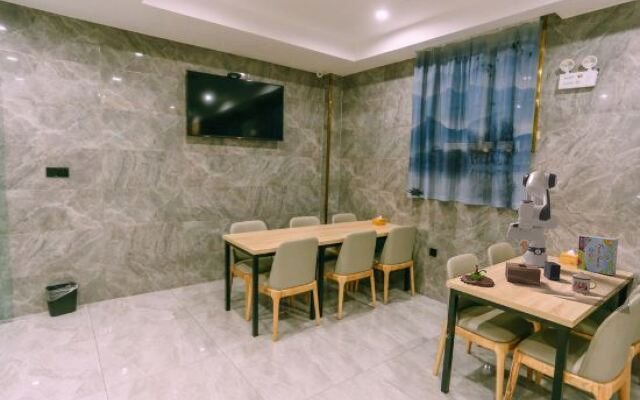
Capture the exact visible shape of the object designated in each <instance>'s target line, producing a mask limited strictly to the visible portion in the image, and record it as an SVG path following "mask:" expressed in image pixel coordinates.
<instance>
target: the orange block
mask: <svg viewBox="0 0 640 400" xmlns="http://www.w3.org/2000/svg"><path fill="white" fill-rule="evenodd" d="M520 243H522V246H520V249H521V250H526V251H527V244H528V240H521V241H520Z"/></svg>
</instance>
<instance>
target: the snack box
mask: <svg viewBox="0 0 640 400" xmlns="http://www.w3.org/2000/svg"><path fill="white" fill-rule="evenodd" d="M618 246H619V239H618V238H612V237H606V236H605V237H602V236H594V235H585V234H584V235H583V234H581V235H579V236H578V247H577V248H578V249H577V251H578V253H577V264H576V265H577V266H576V269H578V270H582V271H586V272H591V273H597V274H602V275H607V276H614V275H616V272H617V259H618Z"/></svg>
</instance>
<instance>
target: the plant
mask: <svg viewBox="0 0 640 400" xmlns="http://www.w3.org/2000/svg"><path fill="white" fill-rule="evenodd" d="M478 267H479V265H478V264H475V268H476V269H475V270H474V271H473V272H471V271H469V274H463V275H461V277H460V278H459V280H460V279H461V280H460V281H461V282H464V283H463V284H465V283H467V284H466V285H469V284H472V285H471V286H477V285H478V286H477V287H483V288H492V287H494V286H495V281H494V280H493V279H492V278H491V277H488V276H487V275H486V274H487V273H488V272H487V270H485V269H481V270H478V269H479V268H478ZM482 272H484V273H485V274H483V273H482Z"/></svg>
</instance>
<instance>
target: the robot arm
mask: <svg viewBox="0 0 640 400" xmlns="http://www.w3.org/2000/svg"><path fill="white" fill-rule="evenodd" d="M521 183H522V186H524V187H525V191H526V192H527V193H528V194H529V195H530V196H531V197H530V199H531V200H530V199H522V200H520V202H519V205H518V208H517V216H518V218H517V221H515V222H511V223H509V227H508V228H507V234H506V237H507V238H508V239H512V240H513V239H514V240H515V239H516V240H517V242H518V245H519V247H521V246H522V243H521V241H522V240H523V241H527V250H526V252H525V253H523V254H522V255H523V256H522V257H523V258H522V260H521V264H530V265H537V266H538V267H541V268H544V262H545V261H548V262H549V260H548V259H549V258H548V257H549V256H548V254H547V253H546V250H547V248H546V241H547V239H546V236H545V234H544V231H545V230H554V229H556V228H558V227H559V224H560V221H559V218H558V216H556V215H555V214H553V212H552V211H553V210H552V208H551V196H550V195H551V194H550V190H551V189H554V188H555V187H556V186H557V184H558V177H557V175H556V174H555V173H546V172H543V171H540V170H535V171H532V172H531V173H530V172H529V173H525V174H524V175H523V176H522V179H521Z"/></svg>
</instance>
